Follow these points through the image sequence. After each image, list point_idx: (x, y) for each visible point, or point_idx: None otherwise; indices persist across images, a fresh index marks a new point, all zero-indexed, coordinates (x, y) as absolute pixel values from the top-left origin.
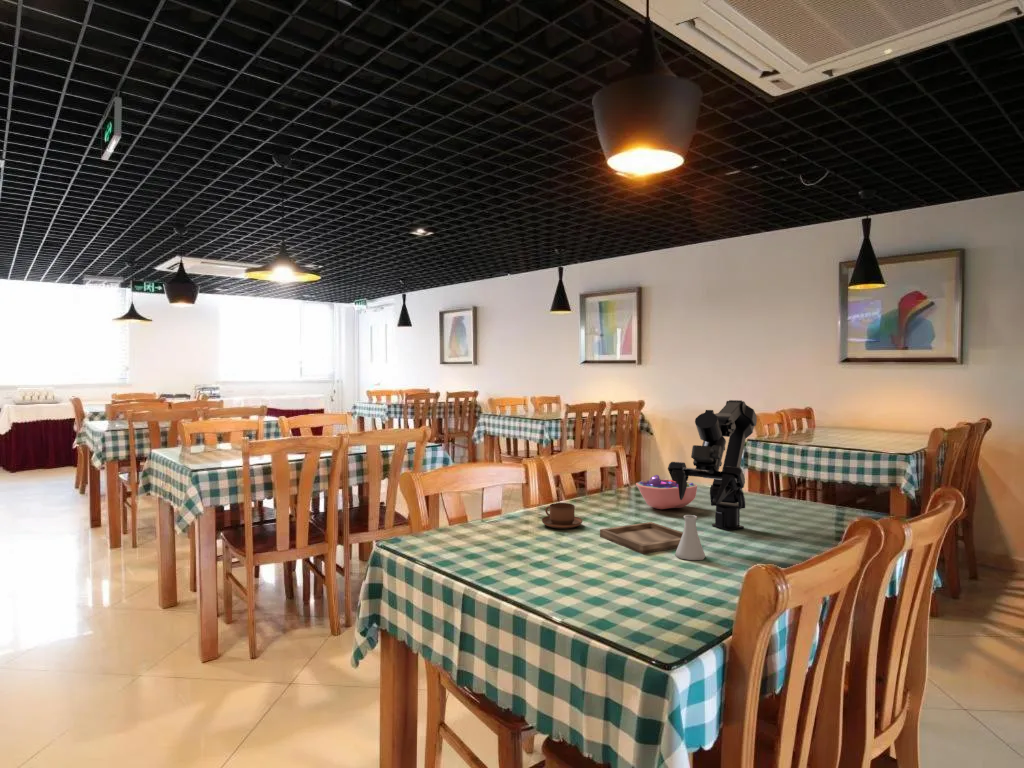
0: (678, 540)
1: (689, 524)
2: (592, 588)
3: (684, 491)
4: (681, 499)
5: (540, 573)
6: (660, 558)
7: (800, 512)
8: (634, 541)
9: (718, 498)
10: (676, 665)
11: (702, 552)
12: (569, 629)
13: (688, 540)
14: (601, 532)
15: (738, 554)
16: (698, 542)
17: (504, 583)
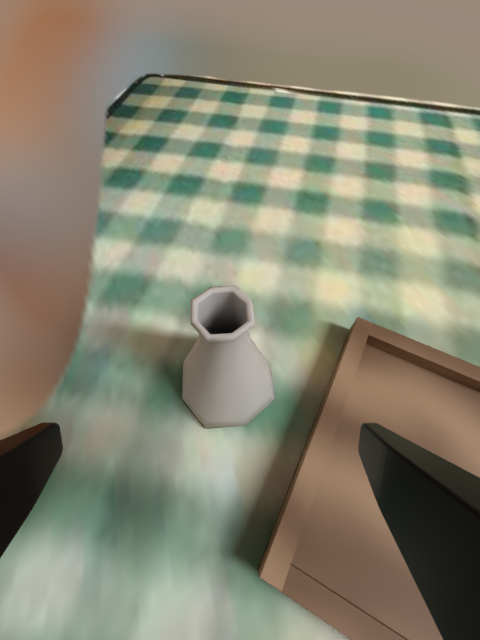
0: (304, 459)
1: (220, 309)
2: (303, 148)
3: (429, 586)
4: (359, 443)
5: (409, 157)
6: (291, 321)
7: None
8: (409, 347)
9: (14, 437)
10: (142, 76)
11: (185, 373)
12: (256, 83)
13: (222, 330)
14: None
15: (73, 515)
16: (192, 351)
17: (409, 121)
